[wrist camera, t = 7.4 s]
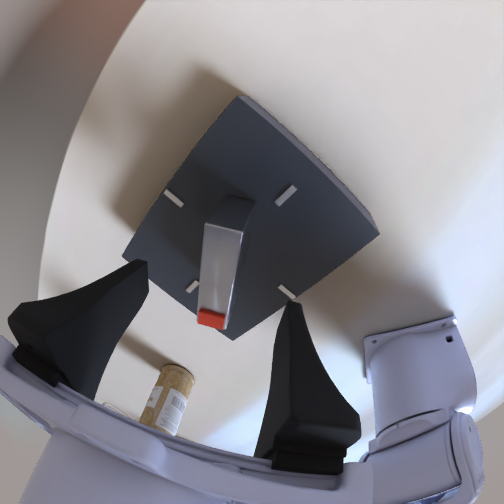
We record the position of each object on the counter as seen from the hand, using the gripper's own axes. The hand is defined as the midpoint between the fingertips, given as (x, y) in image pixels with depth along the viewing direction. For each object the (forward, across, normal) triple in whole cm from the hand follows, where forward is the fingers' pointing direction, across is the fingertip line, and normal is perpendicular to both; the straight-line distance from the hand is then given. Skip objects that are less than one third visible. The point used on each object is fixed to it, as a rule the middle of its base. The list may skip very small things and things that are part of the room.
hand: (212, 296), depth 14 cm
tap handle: (+5, 0, 0) cm, 5 cm away
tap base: (+8, 0, 0) cm, 8 cm away
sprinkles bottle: (+8, +5, +22) cm, 24 cm away
